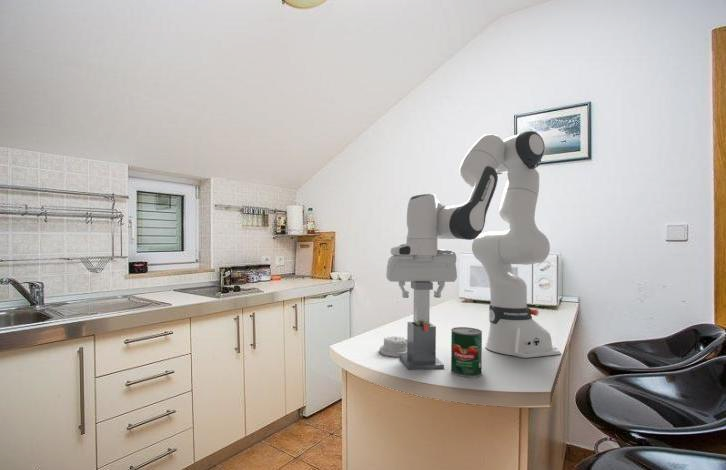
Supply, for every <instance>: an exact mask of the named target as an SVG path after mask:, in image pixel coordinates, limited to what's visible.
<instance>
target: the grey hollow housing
mask: <svg viewBox="0 0 726 470" xmlns="http://www.w3.org/2000/svg"><path fill="white" fill-rule="evenodd" d="M436 329H437V327H436V325H435V324H432V323H431V322H430V321H429V326H428V323H422V326H415V325H414V324H413V321H407V331H406V332H407V336H406V337H407V338H406V339H407V355H400V357H399V359H400V361H401V362H402V363H403V365H404V366H405V367H406V368H407V370H409V371H411V370H413V371H415V370H438V369H439V370H442V369H445V364H444V363H443V362H442V361H441V360H440V359H438V358H437V357H436V356H437V354H436V353H437V351H436V349H437V345H436V344H437V343H436V342H437V337H436V336H437V333H436V332H437V330H436Z"/></svg>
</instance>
